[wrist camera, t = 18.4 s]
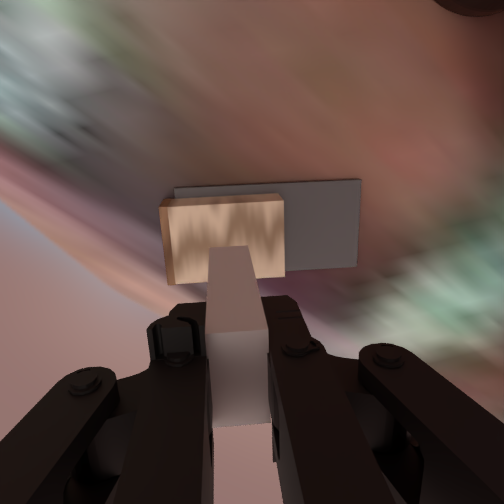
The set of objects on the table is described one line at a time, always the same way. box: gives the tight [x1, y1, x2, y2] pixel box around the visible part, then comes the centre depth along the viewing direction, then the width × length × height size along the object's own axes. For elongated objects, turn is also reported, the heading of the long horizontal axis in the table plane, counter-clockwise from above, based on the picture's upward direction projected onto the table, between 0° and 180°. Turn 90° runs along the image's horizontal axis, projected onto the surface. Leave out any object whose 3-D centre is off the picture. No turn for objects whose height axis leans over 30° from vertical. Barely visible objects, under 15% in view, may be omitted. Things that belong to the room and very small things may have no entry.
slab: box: [159, 193, 285, 285], centre depth 42 cm, size 8×4×12 cm
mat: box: [174, 179, 361, 271], centre depth 45 cm, size 10×20×1 cm, turn 92°
